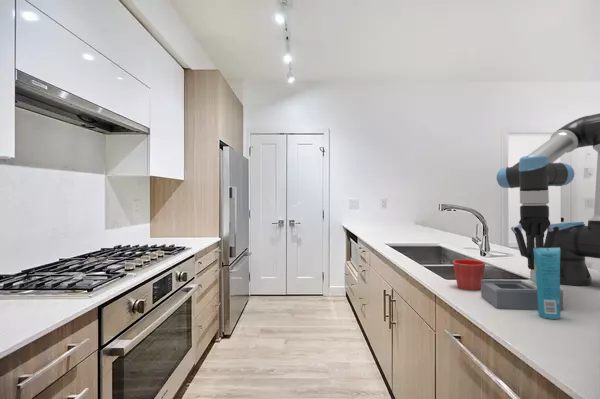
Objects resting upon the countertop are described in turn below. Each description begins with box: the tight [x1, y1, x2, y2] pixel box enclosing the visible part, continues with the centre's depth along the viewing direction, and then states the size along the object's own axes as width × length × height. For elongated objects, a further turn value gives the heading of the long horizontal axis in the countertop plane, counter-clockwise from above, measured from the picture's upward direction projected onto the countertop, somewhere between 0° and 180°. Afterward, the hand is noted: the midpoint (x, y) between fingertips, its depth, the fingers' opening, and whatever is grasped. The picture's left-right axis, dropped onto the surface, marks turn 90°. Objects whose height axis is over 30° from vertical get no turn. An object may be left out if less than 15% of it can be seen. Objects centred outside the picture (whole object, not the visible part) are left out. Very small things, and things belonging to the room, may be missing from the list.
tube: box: [533, 247, 561, 320], centre depth 95 cm, size 7×5×19 cm, turn 96°
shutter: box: [520, 270, 565, 292], centre depth 107 cm, size 7×10×4 cm
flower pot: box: [452, 259, 486, 291], centre depth 128 cm, size 11×11×10 cm
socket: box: [480, 279, 564, 311], centre depth 108 cm, size 18×13×6 cm
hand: (535, 279), depth 108 cm, fingers closed
